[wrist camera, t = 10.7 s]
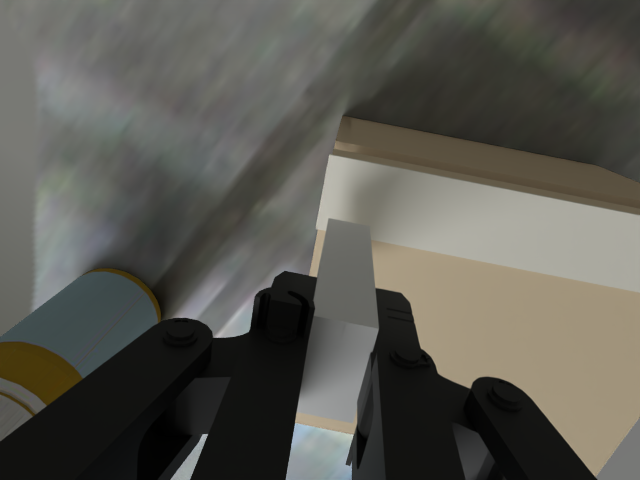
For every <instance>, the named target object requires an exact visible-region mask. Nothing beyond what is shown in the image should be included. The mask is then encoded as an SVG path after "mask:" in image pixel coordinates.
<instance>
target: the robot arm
mask: <svg viewBox="0 0 640 480" xmlns="http://www.w3.org/2000/svg"><path fill="white" fill-rule="evenodd" d="M356 410H357V425H356V429H355V432H354V436H353V440H352V443H351V447H350V450H349V454H348V457H347V461H346V465H349V466H350V465H351V462H352V480H597V479H596V477H595V476H594V475H593V474H592V473H591V471H590V470H589V469H588V468H587V466H586V465H585V464H584V463H583V461H582V460H581V459H580V458H579V457H578V455H577V454H576V453H575V452H574V450H573V449H572V448H571V447H570V445H569V444H568V443H567V442H566V441H565V439H564V438H563V437H562V436H561V434H560V433H559V432H558V431H557V429H556V428H555V427H554V426H553V425H552V423H551V422H550V421H549V420H548V418H547V417H546V416H545V415H544V413H543V412H542V411H541V410H540V409H539V407H538V406H537V405H536V404H535V402H534V401H533V400H532V399H531V398H530V397H529V396H528V395H527V394H526V393H525V392H524V391H523V390H521V389H520V388H518V387H517V386H515V385H513V384H512V383H510V382H508V381H505V380H503V379H500V378H495V377H489V376H487V377H479V378H477V379H476V380H475V381H473V383H472V385H471V388H467V387H465V386H463V385H460V384H458V383H455V382H453V381H451V380H449V379H447V378H445V377H443V376H441V375H440V374H438V372H437V369H436V365H435V363H434V361H433V359H432V357H431V356H430V355H429V354H427V353H426V352H425V351H424V350H423V349H421V347H420V343H419V339H418V335H417V330H416V326H415V323H414V317H413V315H412V309H411V304H410V302H409V301H408V300H407V299H406V298H405V296H404V295H403V294H402V293H400V292H395V291H390V290H385V289H380V288H375V279H374V268H373V257H372V246H371V234H370V226H367V225H362V224H357V223H352V222H346V221H341V220H336V219H331V218H328V223H327V228H326V233H325V238H324V243H323V248H322V253H321V258H320V263H319V268H318V273H317V277H313V276H308V275H303V274H298V273H293V272H288V271H284V272H282V273H281V274H279V275H278V276H276V277H275V278H274V281H273V284H272V286H271V287H270V288H266V289H263V290H261V291H259V292H258V293H257V294H256V296H255V299H254V306H253V313H252V320H251V327H250V330H249V332H248V333H246V334H244V335H240V336H236V337H228V338H213V335H212V331H211V330H210V328H209V327H208V326H207V325H205V324H204V323H202V322H200V321H198V320H193V319H189V318H173V319H168V320H164V321H161V322H159V323H157V324H156V325H154V326H152V327H151V328H150V329H148V330H147V331H146V332H144V333H143V334H142V335H140V336H139V337H138V338H136V339H135V340H134V341H132V342H131V343H130V344H128V345H127V346H126V347H124V348H123V349H122V350H120V351H119V352H118V353H116V354H115V355H114V356H112V357H111V358H110V359H108V360H107V361H106V362H104V363H103V364H102V365H100V366H99V367H98V368H97V369H95V370H94V371H93V372H91V373H90V374H89V375H87V376H86V377H85V378H83V379H82V380H81V381H79V382H78V383H77V384H75V385H74V386H73V387H71V388H70V389H69V390H67V391H66V392H65V393H63V394H62V395H61V396H59V397H58V398H57V399H55V400H54V401H53V402H51V403H50V404H49V405H47V406H46V407H45V408H43V409H42V410H41V411H40V412H38V413H37V414H36V415H34V416H33V417H32V418H30V419H29V420H28V421H26V422H25V423H24V424H22V425H21V426H20V427H18V428H17V429H16V430H14V431H13V432H12V433H10V434H9V435H8V436H6V437H5V438H4V439H2V440H1V441H0V480H170V479H171V478H172V477H173V475H174V474H175V473H176V471H177V470H178V469H179V467H180V466H181V465H182V463H183V462H184V461H185V459H186V458H187V457H188V455H189V454H190V453H191V452H192V450H193V449H194V448H195V446H196V445H197V444H198V442H199V440H200V438H201V436H202V434H208V436H207V439H206V441H205V444H204V446H203V449H202V451H201V454H200V456H199V459H198V461H197V464H196V466H195V469H194V471H193V474H192V476H191V479H190V480H286V474H287V468H288V462H289V456H290V450H291V444H292V438H293V432H294V426H295V420H296V414H297V412H299V413H304V414H309V415H314V416H319V417H324V418H329V419H334V420H339V421H344V422H349V423H353V421H354V417H355V414H356Z"/></svg>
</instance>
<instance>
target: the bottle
mask: <svg viewBox="0 0 640 480" xmlns="http://www.w3.org/2000/svg"><path fill="white" fill-rule="evenodd" d="M160 320H161V313H160V308H159V304H158V302H157V300H156V298H155V296H154V295H153V293H152V291H151V290H150V289H149V288H148V287H147V286H146V285H145V284H144V283H143V282H142V281H141V280H139V279H138V278H136V277H134V276H132V275H131V274H129V273H127V272H124V271H120V270H116V269H112V268H102V269H95V270H92V271H89V272H87V273H85V274H83V275H82V276H80V277H79V278H77V279H76V280H75V281H73V282H72V283H71V284H69V285H68V286H67V287H65V288H64V289H63V290H61V291H60V292H59V293H58V294H56V295H55V296H54V297H52V298H51V299H50V300H48V301H47V302H46V303H44V304H43V305H42V306H40V307H39V308H38V309H36V310H35V311H34V312H32V313H31V314H30V315H29V316H27V317H26V318H25V319H23V320H22V321H21V322H19V323H18V324H17V325H15V326H14V327H13V328H11V329H10V330H9V331H7V332H6V333H5V334H3V336H1V337H0V441H1V440H2V439H4V438H5V437H6V436H8V435H9V434H10V433H12V432H13V431H14V430H16V429H17V428H18V427H20V426H21V425H22V424H24V423H25V422H26V421H28V420H29V419H30V418H32V417H33V416H34V415H36V414H37V413H38V412H40V411H41V410H42V409H43V408H45V407H46V406H47V405H49V404H50V403H51V402H53V401H54V400H55V399H57V398H58V397H59V396H61V395H62V394H63V393H65V392H66V391H67V390H69V389H70V388H71V387H73V386H74V385H75V384H77V383H78V382H79V381H81V380H82V379H83V378H85V377H86V376H87V375H89V374H90V373H91V372H93V371H94V370H95V369H97V368H98V367H99V366H100V365H102V364H103V363H104V362H106V361H107V360H108V359H110V358H111V357H112V356H114V355H115V354H116V353H118V352H119V351H120V350H122V349H123V348H124V347H126V346H127V345H128V344H130V343H131V342H132V341H134V340H135V339H136V338H138V337H139V336H140V335H142V334H143V333H144V332H146V331H147V330H148V329H150V328H151V327H152V326H154V325H156V324H157V323H159V322H160Z"/></svg>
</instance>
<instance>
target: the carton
mask: <svg viewBox="0 0 640 480" xmlns="http://www.w3.org/2000/svg"><path fill="white" fill-rule="evenodd" d="M334 149H338V150H343V151H349V152H354V153H359V154H364V155H369V156H374V157H379V158H384V159H389V160H394V161H400V162H405V163H410V164H415V165H420V166H425V167H430V168H435V169H440V170H445V171H451V172H456V173H461V174H466V175H471V176H476V177H481V178H486V179H491V180H496V181H501V182H507V183H512V184H517V185H522V186H527V187H532V188H537V189H542V190H547V191H552V192H558V193H563V194H568V195H573V196H578V197H583V198H588V199H593V200H598V201H603V202H609V203H614V204H619V205H624V206H629V207H634V208H639V209H640V183H639V182H636V181H634V180H631V179H629V178H626V177H624V176H621V175H619V174H616V173H614V172H612V171H609V170H607V169H604V168H602V167H599V166H597V165H592V164H587V163H582V162H577V161H572V160H567V159H562V158H556V157H551V156H546V155H541V154H536V153H531V152H526V151H521V150H516V149H511V148H505V147H500V146H495V145H490V144H485V143H480V142H475V141H470V140H465V139H459V138H454V137H449V136H444V135H439V134H434V133H429V132H424V131H419V130H414V129H408V128H403V127H398V126H393V125H388V124H383V123H378V122H373V121H368V120H362V119H357V118H352V117H347V116H342V119H341V123H340V127H339V130H338V134H337V138H336V142H335V147H334Z"/></svg>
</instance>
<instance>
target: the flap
mask: <svg viewBox="0 0 640 480" xmlns="http://www.w3.org/2000/svg"><path fill="white" fill-rule="evenodd" d="M328 218H331V219H336V220H341V221H346V222H352V223H357V224H362V225H367V226H370V234H371V246H372V257H373V268H374V279H375V288H380V289H385V290H390V291H395V292H400V293H402V294H403V295H404V296H405V298H406V299H407V300H408V301H409V302H410V304H411V309H412V315H413V317H414V323H415V326H416V330H417V335H418V339H419V343H420V347H421V349H423V350H424V351H425V352H426V353H427V354H429V355H430V356H431V357H432V359H433V361H434V363H435V365H436V369H437V372H438V374H440V375H441V376H443V377H445V378H447V379H449V380H451V381H453V382H455V383H458V384H460V385H463V386H465V387H467V388H471V385H472V383H473V381H475V380H476V379H477V378H479V377H487V376H489V377H495V378H500V379H503V380H505V381H508V382H510V383H512V384H513V385H515V386H517V387H518V388H520V389H521V390H523V391H524V392H525V393H526V394H527V395H528V396H529V397H530V398H531V399H532V400H533V401H534V402H535V404H536V405H537V406H538V407H539V409H540V410H541V411H542V412H543V413H544V415H545V416H546V417H547V418H548V420H549V421H550V422H551V423H552V425H553V426H554V427H555V428H556V429H557V431H558V432H559V433H560V434H561V436H562V437H563V438H564V439H565V441H566V442H567V443H568V444H569V445H570V447H571V448H572V449H573V450H574V452H575V453H576V454H577V455H578V457H579V458H580V459H581V460H582V461H583V463H584V464H585V465H586V466H587V468H588V469H589V470H590V471H591V473H592V474H593V475H594V476H595V477H596V476H597V474H598V473H599V472H600V470H601V469H602V468H603V466H604V465H605V464H606V462H607V461H608V460H609V458H610V457H611V455H612V454H613V453H614V451H615V450H616V449H617V447H618V446H619V445H620V443H621V442H622V441H623V439H624V438H625V437H626V435H627V434H628V432H629V431H630V430H631V428H632V427H633V426H634V424H635V423H636V422H637V420H638V419H639V418H640V209H639V208H634V207H629V206H624V205H619V204H614V203H609V202H603V201H598V200H593V199H588V198H583V197H578V196H573V195H568V194H563V193H558V192H552V191H547V190H542V189H537V188H532V187H527V186H522V185H517V184H512V183H507V182H501V181H496V180H491V179H486V178H481V177H476V176H471V175H466V174H461V173H456V172H451V171H445V170H440V169H435V168H430V167H425V166H420V165H415V164H410V163H405V162H400V161H394V160H389V159H384V158H379V157H374V156H369V155H364V154H359V153H354V152H349V151H343V150H338V149H333V154H329V159H328V165H327V170H326V175H325V181H324V186H323V191H322V197H321V202H320V207H319V213H318V218H317V223H316V229H318V232H317V237H316V243H315V248H314V253H313V258H312V264H311V269H310V274H309V276H313V277H317V273H318V268H319V263H320V258H321V253H322V248H323V243H324V238H325V233H326V228H327V223H328ZM295 423H298V424H303V425H308V426H313V427H318V428H323V429H328V430H334V431H339V432H344V433H349V434H354V432H355V429H356V425H357V410H356V414H355V417H354V421H353V423H349V422H344V421H339V420H334V419H329V418H324V417H319V416H314V415H309V414H304V413H299V412H297V414H296V420H295Z"/></svg>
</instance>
